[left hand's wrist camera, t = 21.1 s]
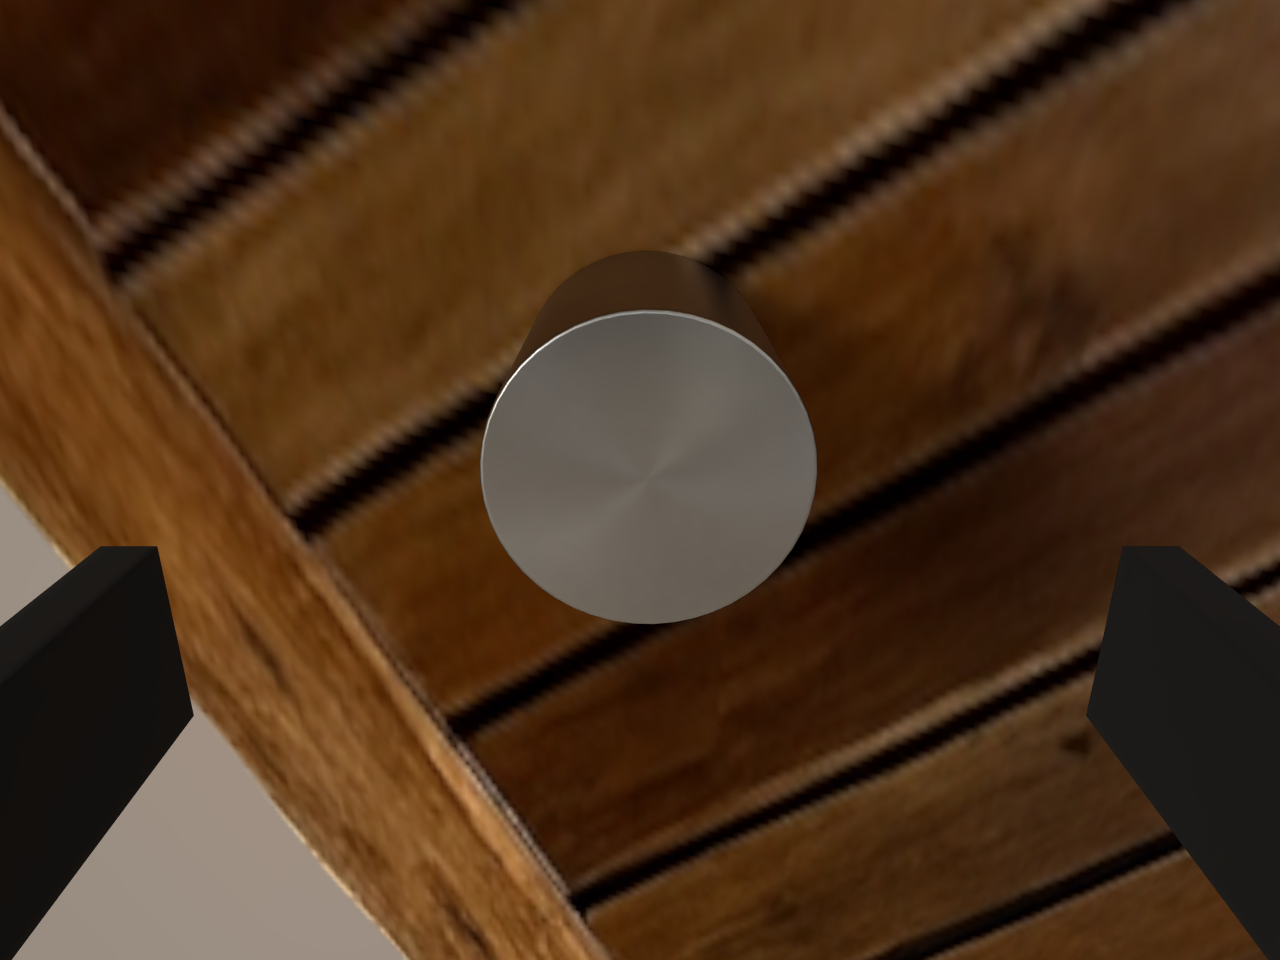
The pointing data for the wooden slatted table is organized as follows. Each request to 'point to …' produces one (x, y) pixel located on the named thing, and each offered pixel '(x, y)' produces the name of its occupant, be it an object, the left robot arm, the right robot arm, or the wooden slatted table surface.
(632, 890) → the wooden slatted table surface
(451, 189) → the wooden slatted table surface
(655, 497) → the can
